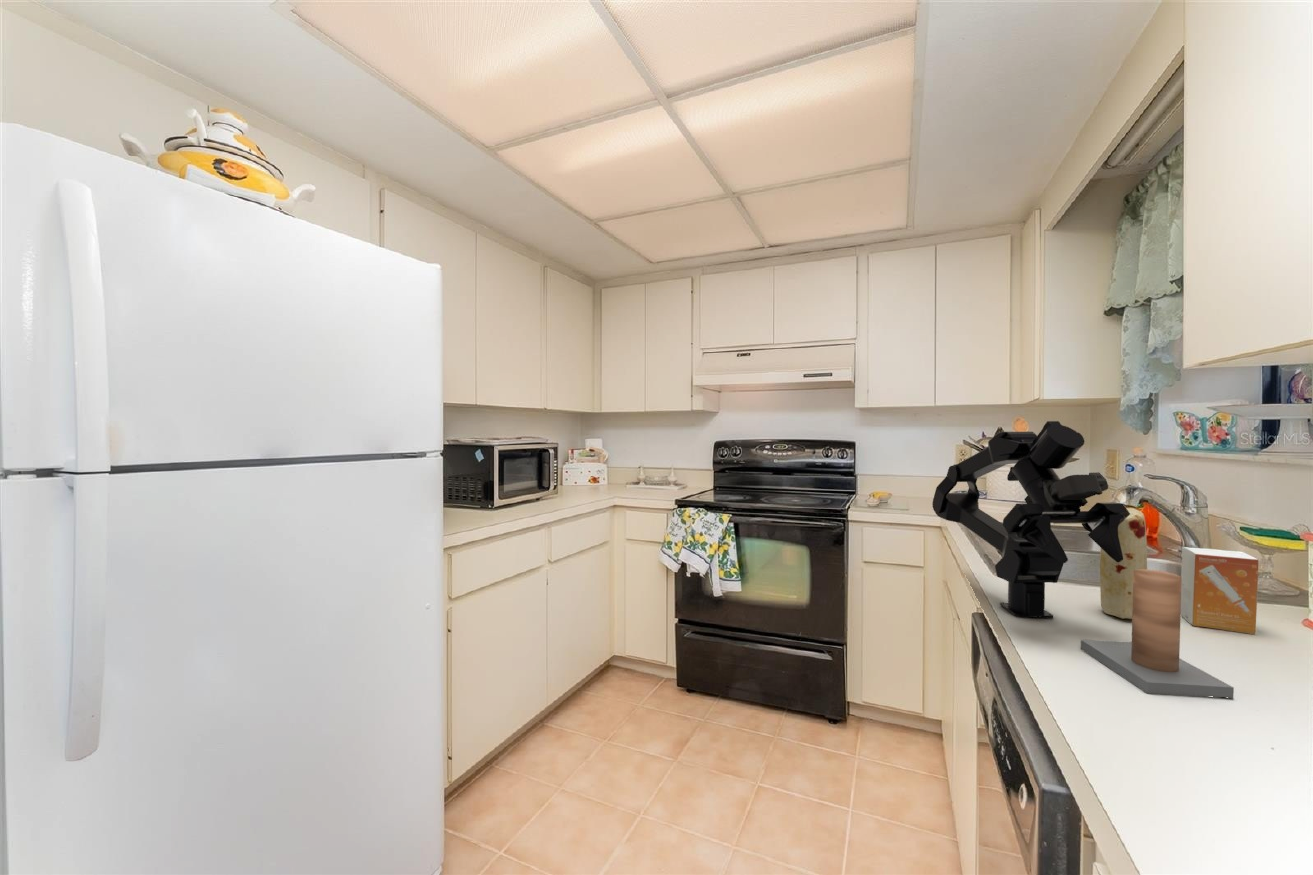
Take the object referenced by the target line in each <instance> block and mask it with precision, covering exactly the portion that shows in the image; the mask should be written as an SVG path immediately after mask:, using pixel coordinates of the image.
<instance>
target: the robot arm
mask: <svg viewBox="0 0 1313 875" xmlns="http://www.w3.org/2000/svg"><path fill="white" fill-rule="evenodd" d="M1085 442H1086V441H1085V438H1084V436H1083V435H1082V434H1081V432H1077V431H1076V430H1074V429H1073V428H1071V427H1069V426H1066V425H1062V424H1061V422H1060V421H1059V420H1056V421H1055V420H1049V421H1048V420H1047V421H1046V422H1045V423H1044V424H1043V427H1042V429H1041V430H1040V431H1039V433H1038V434H1037V433H1035V432H1034V431H1000V432H997V433H996V434H995V435H994V436H993V437H991V439H989V440H988V442H987V447H986V448H985V449H982V450H981V451H978V452H976V453H974V455H970V456H969V457H967V458H966V459H964V460H962V461H960V462H958V463H956V464H953V465H950V466H949V467H948V469H947V473H946V476H945V477H944V479H943V480H942V481H940V483H939V484H938V485H937V486H936V487H935V492H934V495H933V499H932V510H933V511H934V513H935V515H937V517H938V518H940V519H943V520H945V521H948V522H954V523H957V524H961V525H963V526H964V527H965V528H966V529H968V530H969V531H971V532H972V533H973V534H975V535H976V536H978V537H979V538H980V539H982V540H984V542H986V543H988V544H989V545H990V546H992V547H993V548H994V549H996V550H997V551H999V552H1000V553H1001V559H1000V560H998V562H997V563H996V564H995V565H994V569H995V573H996V577H998V578H1000V579H1002V580H1004V581H1006V582H1007V585H1008V586H1007V602H999V606H1001V607H1002V608H1004V610H1007V611H1008V612H1009V613H1010V614H1012V615H1013V616H1014V617H1019V618H1020V617H1022V618H1040V619H1046V618H1047V619H1054V615H1053V614H1052V613H1050V612H1049V611H1047V610H1045V609H1046V608H1045V606H1046V605H1045V604H1046V602H1045V600H1046V593H1045V592H1046V591H1045V588H1046V587H1045V586H1046V584H1045V583H1053V584H1057V583H1058V581H1059V579H1060V576H1061V573H1062V570H1063V566H1064V564H1066V563H1067V562H1068V561H1069V558H1068V557H1067V554H1066V552H1065V550H1064V548H1063V546H1062V544H1061V543H1060V542H1059V540H1058V538H1057V537H1056V535H1055V533H1054V531H1053V530H1052V526H1051V524H1054V525H1055V524H1059V525H1061V524H1066V525H1067V524H1081V526H1082V527H1083V529H1085V531H1087V532H1089V533H1088V534H1087V536H1088V537H1089V538H1090V539H1091V540H1092V541H1093V542H1094V543H1095V544H1097V546H1098V547H1099V548H1100V549H1101V548H1102V549H1103V550H1104V551H1105V552H1106V553H1107V554H1108V555H1109V556H1110V557H1111V558H1112V559H1114V560H1115V561H1116V562H1121V561H1122V560H1123V554H1122V550H1121V546H1120V541H1119V536H1118V526H1119V524H1121V523H1122V522H1123V521H1124V520H1125V518H1127V517H1128V516H1129V515H1130V513H1129V511H1128V510H1127V509H1126V508H1127V507H1126V506H1125V505H1124V504H1123V503H1121V502H1116V501H1115V502H1096V503H1095V504H1094V505H1093V506H1092V507H1091V508H1090V509H1089V510H1082V511H1081V507H1085V506H1086V505H1087V504H1088V503H1089V501H1088V498H1091V497H1094V496H1096V495H1097V496H1100V495H1102V494H1103V492H1104V491H1107V490H1108V489H1109V484H1108V481H1107V479H1106V478H1105V476H1103V474H1101V472H1099V471H1098V472H1089V473H1088V474H1070V475H1068V476H1065V477H1062V478H1060V477H1059V475H1058V474H1057V472H1056V471H1055V470H1058V469H1059V470H1060V469H1062V468H1064V467H1065V466H1066V465H1067V464H1068V463H1069V462H1070V461H1071V459H1073V457H1074V456H1075V455H1076V454H1077V453H1078V452H1079V451H1080V449H1081V448H1082V447H1083V446H1084V444H1085ZM1013 464H1014V465H1013ZM1006 465H1013V466H1010V467H1009V472H1008V474H1007V477H1006V479H1007V481H1008V482H1019V484H1020V485H1021V487H1022V489H1023V490H1024V491H1025V494H1026V495H1027V496H1025V498H1024V502H1025V503H1023V502H1022V503H1016V504H1015V505H1014V506H1013V507H1012V508H1011V509H1010V510H1009V512H1008V513H1007V514H1006V515H1005V517H1003V521H1002V522H1000V521H999V520H997V519H996V518H994V517H993V516H991V515H990V514H988V513H986V512H985V511H983V510H982V509H980V507H979V505H980V504H979V499H980V491H979V489H978V486H977V481H978V479H979V478H981V477H983V476H985V475H987V474H989V473H992V472H993V471H995V470H997V469H998V470H999V468H1002V467H1005V466H1006ZM958 483H967V485H968V486H967V487H968V489H967V492H951V491H952V490H953V489H954V488H955V487H956V486H957V484H958Z"/></svg>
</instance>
